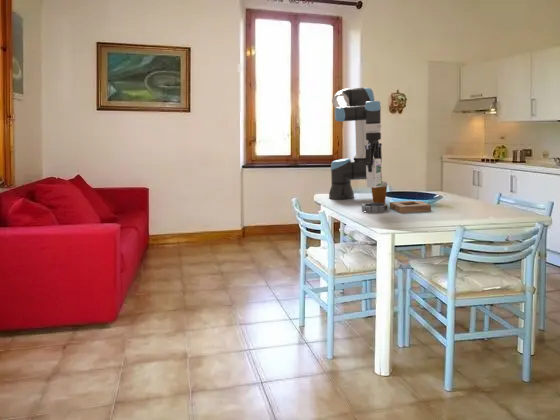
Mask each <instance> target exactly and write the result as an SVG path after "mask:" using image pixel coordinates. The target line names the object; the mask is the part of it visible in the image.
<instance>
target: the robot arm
mask: <svg viewBox="0 0 560 420" xmlns="http://www.w3.org/2000/svg"><path fill="white" fill-rule="evenodd" d="M331 99H332V100H331V102H332V106H333V107H334V119H335V122H352V121H353V122H354V124H355V125H354V126H355V129H354V130H355V155H354V157H353V160H351V158H349V157H346V158H340V159H336V160H333V161H332V162H330V163H331V164H330V173H331V186H330V190H329V193H328V198H329V199H332V200H349V199H353V198H354V197H355V193H354V190H353V187H352V185H351V184H352V183H351V182H352V181H356V180H357V181H359V180H361V181H362V180H365V181H367V177H366V166H368V178H372V179H373V178H374V166H372V165H373V158H379V159H381V163H382V160H383V157H382V145H383V144H382V143H381V142H380V140H381V139H382V133H381V131H382V130H381V127H382V125H381V122H382V121H381V117H382V115H381V114H382V113H381V110H382V107H381V101H379V100H375V95H374V91H373V89H372V88H371V87H354V88H343V89H341V90H338V91H337V92H336V93H335V94H334V95H333V96H332V98H331Z"/></svg>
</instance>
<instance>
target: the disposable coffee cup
mask: <svg viewBox="0 0 560 420" xmlns="http://www.w3.org/2000/svg"><path fill="white" fill-rule="evenodd" d="M388 185H389V184H388V181H383V180H382V186H380V187H377V188H371V194H372V195H371V197H372V203H386V199H387V190H388V189H387V187H388Z"/></svg>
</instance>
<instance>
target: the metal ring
mask: <svg viewBox="0 0 560 420" xmlns="http://www.w3.org/2000/svg"><path fill="white" fill-rule="evenodd" d="M387 210H388V203H386V202H385V203H373V202H366V203H362V204H361V212H363V211H366V212H365V213H367V212H380V213H385V212H384V211H386V212H388V211H387Z"/></svg>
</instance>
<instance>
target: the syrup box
mask: <svg viewBox="0 0 560 420" xmlns="http://www.w3.org/2000/svg"><path fill="white" fill-rule="evenodd" d="M372 166H374V178H373V179H372V178H368V166H366V177H367V179H366V187H367V188H377V187H380V186H382V181H383V180H382V179H383V178H382V177H383V176H382V162H381V159H379V158H374V157H373V165H372Z"/></svg>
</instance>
